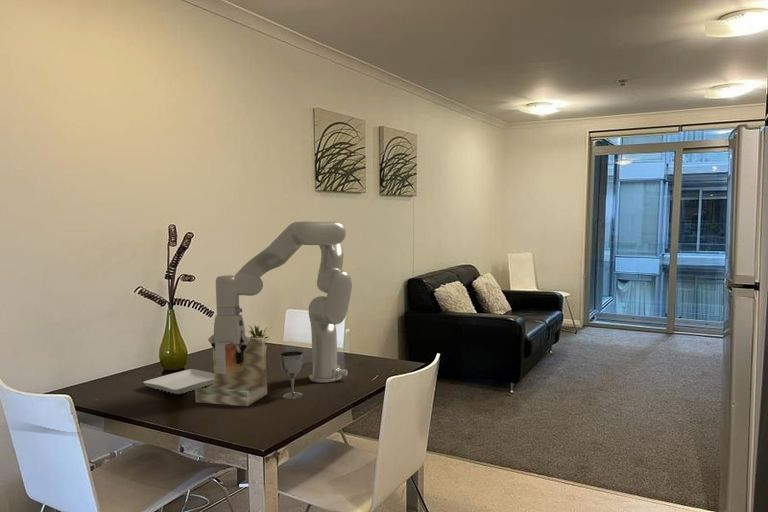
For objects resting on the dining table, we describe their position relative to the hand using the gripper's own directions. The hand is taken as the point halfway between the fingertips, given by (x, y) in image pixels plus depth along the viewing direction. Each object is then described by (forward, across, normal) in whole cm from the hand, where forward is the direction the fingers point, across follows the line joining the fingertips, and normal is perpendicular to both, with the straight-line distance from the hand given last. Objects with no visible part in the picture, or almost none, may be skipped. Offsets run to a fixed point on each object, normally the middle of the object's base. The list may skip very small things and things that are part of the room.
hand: (230, 362), depth 190 cm
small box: (+3, 0, 0) cm, 3 cm away
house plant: (+13, +19, -50) cm, 55 cm away
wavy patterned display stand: (+13, 0, 0) cm, 13 cm away
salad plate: (+13, +26, -9) cm, 30 cm away
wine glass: (+13, -20, -7) cm, 25 cm away
